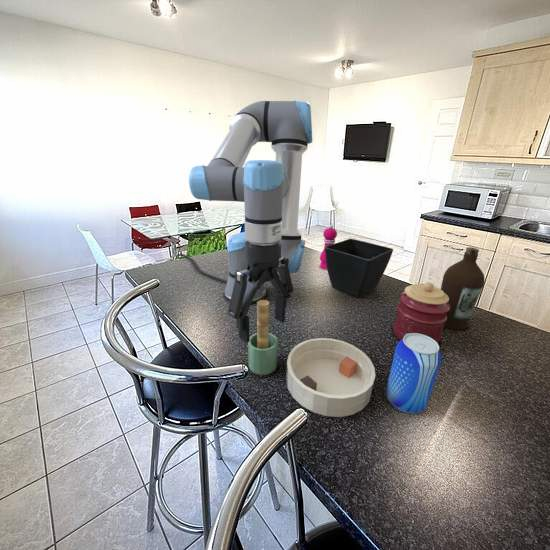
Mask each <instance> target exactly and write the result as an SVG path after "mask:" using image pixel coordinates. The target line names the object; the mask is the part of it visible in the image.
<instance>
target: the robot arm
mask: <svg viewBox="0 0 550 550" xmlns="http://www.w3.org/2000/svg"><path fill="white" fill-rule="evenodd" d="M312 123H313V122H312V107H311V104H310V103H309V102H308V101H301V100H300V101H299V100H259V101H256V102H253V103H251V104H248V105H246V106H244V107H243V108H242V109H241V110H239V111H237V113H236V114H235V115H234V116H233V118H232V119H231V121H230V123H229V128H228V129H229V130H228V132H227V134H226V135H225V137H224V139H223V140H222V142H221V144H220V145H219V147H218V148H217V150H216V152H215V153H214V155H213V156H212V158H211V160H210V161H209V163H208V164H207V165H204V164H202V165H195V166H193V167H192V168H191V169H190V171H189V174H188V187H189V190H190V193H191V195H192V196H193V198H194V199H197V200H202V201H209V202H211V201H212V202H213V201H214V202H237V203H238V202H239V203H244V231H242V232H237V233H235V234H233V235H230V237H229V238H228V239H227V249H226V252H227V263H228V264H227V265H228V267H227V268H228V278H227V279H223V278H220V277H217V276H214V275H212V274H209V273H207V272H204V271H202V270H201V269H199V268H198V266H197V264H196V263H195V262H194V259H192V258H191V257H190V256H188V255H186V254H183V253H178V254H176V255H175V257H176V258H178V257H184V258H186V259H187V260H189V261H190V262H191V264H192V265H193V267H194V269H195V270H196V271H197V272H198V273H200V274H202V275H204V276H207V278H211V279H213V280H216V281H219V282H222V283H225V284H226V285H225V288H224V297H225V299H226V300H227V301H229V305H228V309H227V315H229V316H230V317H231V318H233V319H234V320H235V325H236V329H238V337H239V339H240V340H242V341H243V342H244V343H246V344H248V342H250V339H249V338H250V316H249V315H248V313H249V310H250V308H251V305H252V304H255V303H257V302H258V301H260V300H264V298H265V297H266V295H267V287H266V285H265V284H266V282H267V283H268V282H270V284H271V285H272V286H273V288H274V290H275V291H276V293H277V295H275V296H274V297H275V299H274V301H275V302H274V319H275V320H277V321H278V322H280V323H282V324H284V323H285V322H286V309H287V306H288V305H287V304H288V303H287V302H288V299H289V300H290V299H291V297H292V295H291V294H293V292H294V285H293V281H292V277H291V274H297V273H298V272H299V271H300V268H301V265H302V261H303V255H304V251H305V246H306V240H305V239H302V233H301V232H300V231H299V228H298V226H299V213H300V212H299V211H300V210H299V209H300V196H301V181H302V180H301V179H302V164H303V155H304V154H305V153H306V151H307V150H308V146H309V144H312V143H313V124H312ZM257 143H271V149H272V151H273V152H274V153H275V160H271V159H269V160H268V159H267V160H266V159H261V160H260V159H256V160H255V159H254V160H253V159H252V160H247V158H248V157H249V155H250V152H251V150H252V148H253V147H254V146H255V145H256V144H257Z"/></svg>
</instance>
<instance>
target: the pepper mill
mask: <svg viewBox="0 0 550 550" xmlns="http://www.w3.org/2000/svg"><path fill="white" fill-rule="evenodd" d="M322 235H323V237H324V238H323V243H324V247H323V249H322V251H321V253H320V254H319V261H320V263H319V267H320V268H321V269H323V270H327V264H326V256H325V247H326V246H329V245H332V244H335V243H336V238H337V236H338V232H337V229H335V228H334V225H333V224H329V225H328V227H327V228H325V229H324V230H323V233H322Z"/></svg>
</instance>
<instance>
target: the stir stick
mask: <svg viewBox="0 0 550 550" xmlns="http://www.w3.org/2000/svg"><path fill="white" fill-rule="evenodd" d="M256 333H257V348H259V349H266V348H269V333H270V301H269V300H267V299H262V300H260V301H258V302H256Z"/></svg>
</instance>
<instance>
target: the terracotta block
mask: <svg viewBox="0 0 550 550" xmlns="http://www.w3.org/2000/svg"><path fill="white" fill-rule="evenodd" d="M356 368H357V362H355V361H354V360H352V359H350V358H349V357H346V358H345V359H343V360H342V361H341V362H340V366H339V372H340V373H342V374H343V375H345V376H346V377H348V378H350V377H351V376H352V375H353V374H354V373H355V372H356Z"/></svg>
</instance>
